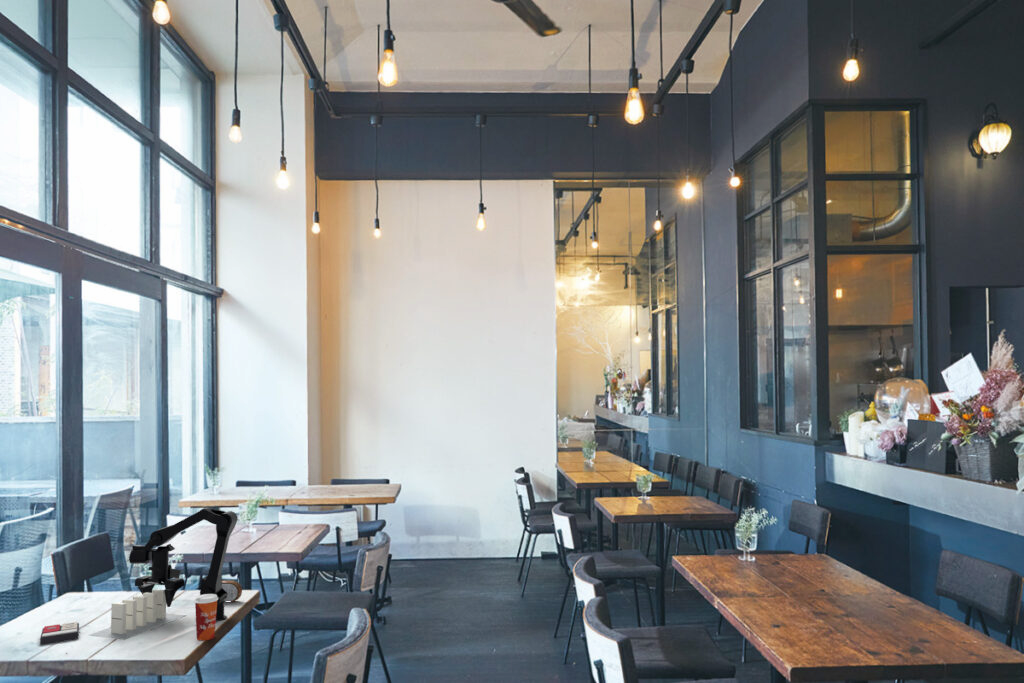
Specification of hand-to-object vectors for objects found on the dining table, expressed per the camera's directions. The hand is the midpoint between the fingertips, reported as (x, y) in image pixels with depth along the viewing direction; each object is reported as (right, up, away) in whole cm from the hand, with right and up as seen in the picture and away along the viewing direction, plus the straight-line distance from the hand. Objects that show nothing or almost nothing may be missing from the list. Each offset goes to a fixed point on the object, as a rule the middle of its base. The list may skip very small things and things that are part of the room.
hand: (159, 605), depth 270 cm
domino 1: (-6, -3, -17) cm, 19 cm away
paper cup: (+26, -4, -21) cm, 34 cm away
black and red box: (-25, -5, -20) cm, 32 cm away
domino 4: (-1, -4, -5) cm, 6 cm away
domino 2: (-4, -3, -13) cm, 14 cm away
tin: (+14, -7, +24) cm, 29 cm away
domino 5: (0, -4, 0) cm, 4 cm away
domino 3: (-3, -4, -9) cm, 10 cm away
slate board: (-3, -5, -9) cm, 10 cm away
